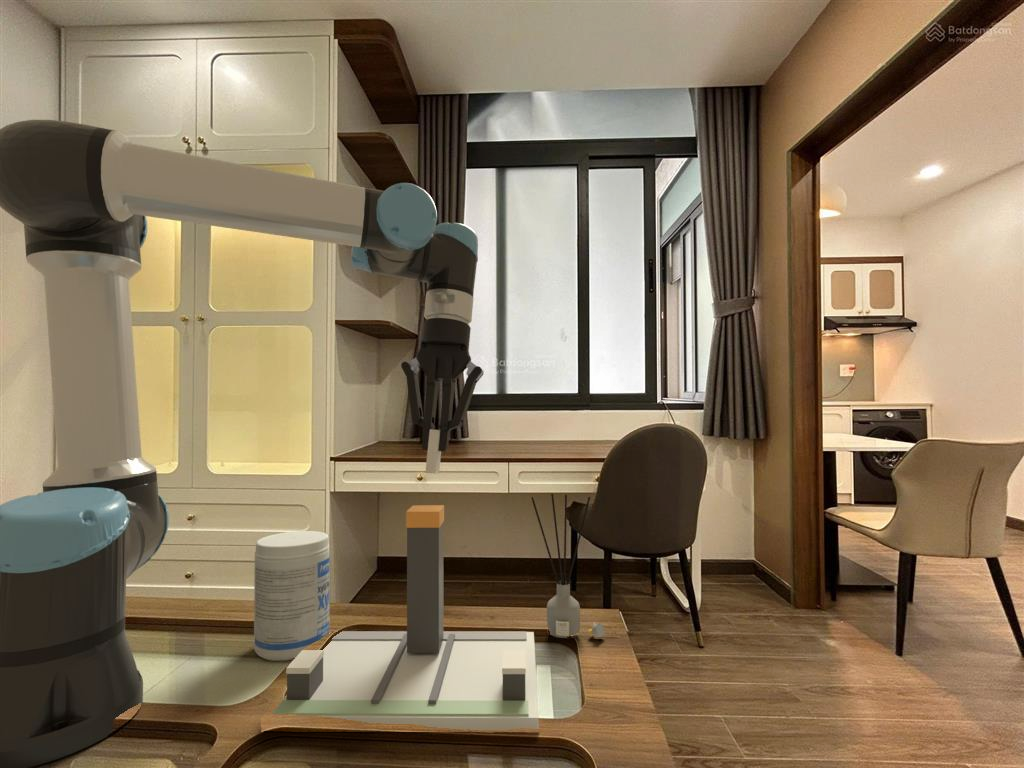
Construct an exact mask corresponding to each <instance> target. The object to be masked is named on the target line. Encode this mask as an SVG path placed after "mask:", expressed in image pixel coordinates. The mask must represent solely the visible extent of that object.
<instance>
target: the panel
mask: <svg viewBox="0 0 1024 768" xmlns="http://www.w3.org/2000/svg"><path fill="white" fill-rule="evenodd" d="M535 646H536V645H535V633H534V631H525V630H523V631H522V630H521V631H515V630H514V631H513V630H512V631H506V630H505V631H504V630H503V631H498V630H497V631H491V630H490V631H489V630H488V631H487V630H486V631H479V630H478V631H477V630H475V631H473V630H472V631H470V630H469V631H466V630H465V631H463V630H459V631H455V630H453V631H451V630H450V631H447V630H446V631H445V630H443V642H442V645H441V648H440V651H439V653H407V630H406V631H405V630H401V631H400V630H399V631H398V630H397V631H396V630H395V631H393V630H391V631H390V630H389V631H388V630H387V631H386V630H385V631H384V630H380V631H379V630H377V631H375V630H373V631H371V630H370V631H369V630H367V631H364V630H360V631H359V630H357V631H355V630H351V631H350V630H344V631H343V630H342V632H340V633H339V634H337V635H336V636H334V637H333V638H332V641H331V642H330V643H329V644H328V645H327V646H326V647H325V648H324V649H323V650H302V651H301V652H300V653H299V654H298V655H297V657H296V658H295V659H292V661H291V662H290V663H289V664H288V665H287V666H286V669H285V670H286V671H285V672H286V673H285V674H286V686H287V695H286V696H285V700H282V701H281V703H280V704H279V705H278V706H277V708H276V709H275V710H274V711H273V713H272V714H296V715H297V714H298V715H308V716H309V715H315V716H316V715H317V716H318V717H319V715H320V716H322V717H330V718H331V717H332V718H337V719H338V718H341V719H346V720H353V721H354V720H355V721H361V722H367V723H374V724H376V723H382V724H385V723H386V724H413V725H414V724H415V725H423V726H427V727H437V728H449V729H464V730H466V729H470V730H503V731H505V730H509V729H518V728H534V729H539V730H540V726H539V725H540V719H539V718H540V717H539V715H540V714H539V701H538V700H539V699H538V683H537V682H538V681H537V667H536V649H535Z"/></svg>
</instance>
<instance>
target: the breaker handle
mask: <svg viewBox="0 0 1024 768" xmlns="http://www.w3.org/2000/svg"><path fill="white" fill-rule="evenodd" d="M405 513H406V514H405V521H406V522H405V528H406V631H407V653H439V651H440V648H441V645H442V642H443V631H444V521H445V505H444V504H443V505H442V504H439V505H437V504H435V505H433V504H432V505H430V504H428V505H426V504H424V505H423V504H422V505H421V504H418V505H417V504H414V505H411V507H409V508H408V509H407V510H406V512H405Z"/></svg>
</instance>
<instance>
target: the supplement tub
mask: <svg viewBox="0 0 1024 768" xmlns="http://www.w3.org/2000/svg"><path fill="white" fill-rule="evenodd" d="M330 572H331V571H330V543H329V535H328V533H325V532H323V531H317V530H298V531H287V532H280V533H275V534H271V535H267V536H264V537H261V538H259V539H258V540H257V541H256V543H255V552H254V582H253V583H254V587H253V588H254V591H253V592H254V594H253V596H254V598H253V599H254V600H253V603H254V608H253V609H254V612H253V613H254V614H253V616H254V618H253V619H254V620H253V621H254V622H253V649H254V652H255V653H256V655H257V656H259V657H260V658H262V659H265V660H268V661H272V662H273V661H275V662H276V661H277V662H281V661H289V660H290V661H291V660H294V659H293V658H294V657H296V656H297V655H298V654H299V653H300V652H301V651H302V650H303V649H304V648H306V647H307V646H309V645H311V644H312V643H314V642H316V641H318V640H320V639H321V638H323V637H324V636H325V635H326V634H327V633H328V631H329V632H330Z"/></svg>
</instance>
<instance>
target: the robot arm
mask: <svg viewBox="0 0 1024 768" xmlns="http://www.w3.org/2000/svg"><path fill="white" fill-rule="evenodd" d="M0 208H1V209H2V210H4V211H5V212H6V213H8V214H9V215H10V216H12V218H14V219H16V220H18V222H20V223H22V224H23V233H24V244H25V245H24V246H25V258H26V263H28V264H29V265H30V266H31V267H33V268H34V269H35V270H36V271H38V272H39V273H40V274H41V275H42V276H43V278H44V279H43V280H44V291H45V292H44V293H45V294H44V295H45V306H46V307H45V308H46V321H47V334H48V335H47V336H48V348H49V362H50V375H51V376H50V377H51V378H50V379H51V388H52V390H51V391H52V404H53V416H54V430H55V431H54V432H55V445H56V458H57V459H56V460H57V467H56V469H55V470H54V472H52V473H51V474H50V475H49V476H48V477H47V478H46V479H45V480H44V481H43V482H42V485H41V486H42V492H39V493H38V494H32V495H25V496H20V497H17V498H14V499H12V500H9V501H6V502H4V503H2V504H0V768H32V767H36V766H39V765H43V764H46V763H50V762H52V761H56V760H59V759H61V758H63V757H67V756H69V755H72V754H74V753H76V752H79V751H82V750H83V749H86V748H88V747H90V746H92V745H94V744H96V743H98V742H100V741H101V740H104V739H106V738H108V737H109V736H110V735H111V734H110V732H111V729H112V727H113V725H114V724H113V723H114V722H113V720H114V719H115V718H116V717H118V716H119V715H120V714H122V713H124V712H125V711H127V710H128V709H130V708H132V707H134V706H136V705H138V704H139V703H142V704H143V701H144V681H143V676H142V675H141V672H140V671H139V669H138V667H137V665H136V662H135V658H134V654H133V651H132V650H131V646H130V643H129V641H128V638H127V636H126V603H127V602H126V601H127V599H126V598H127V597H126V596H127V579H128V578H129V577H130V576H132V574H134V573H135V572H136V571H137V570H138V569H140V568H142V567H143V566H144V565H146V564H147V563H148V562H149V561H150V560H151V559H152V557H154V556H155V554H156V553H157V552H158V551H159V549H160V548H161V546H162V544H163V542H164V540H165V538H166V536H167V533H168V530H169V526H170V525H169V524H170V516H169V515H170V513H169V509H168V505H167V503H166V501H165V499H164V498H163V497H162V495H161V494H160V493H159V485H158V474H157V473H158V472H157V468H156V467H155V466H154V465H152V464H151V463H149V462H148V461H146V459H144V457H143V455H142V445H141V443H142V441H141V430H140V417H139V416H140V415H139V413H140V412H139V403H138V401H139V400H138V389H137V388H138V387H137V375H136V374H137V373H136V364H135V363H136V361H135V349H134V334H133V321H132V320H133V319H132V308H131V294H130V293H131V292H130V280H131V279H132V278H133V277H134V276H136V274H138V273H139V272H140V271H141V270H142V259H141V258H142V257H141V248H143V246H144V243H145V241H146V239H147V235H148V220H147V217H150V218H157V219H163V220H169V221H170V220H171V221H177V222H184V223H191V224H197V225H205V226H210V227H211V226H212V227H218V228H225V229H231V230H232V229H233V230H237V231H238V230H240V231H245V232H246V231H247V232H251V233H252V232H253V233H260V234H267V235H275V236H280V237H287V238H294V239H302V240H307V241H315V242H320V243H321V242H322V243H329V244H335V245H343V246H350V247H351V251H350V264H351V266H352V267H353V268H354V269H358V270H361V271H365V272H368V273H370V274H374V275H375V274H378V275H381V276H383V275H384V276H389V277H394V278H399V279H406V280H412V281H416V282H423V283H426V293H425V300H424V302H425V303H424V314H423V317H424V318H425V320H424V321H423V322H422V331H421V339H420V348H419V349H418V351H417V353H416V357H414V358H413V359H411V360H409V361H408V362H407V361H403V362H402V363H401V366H400V367H401V369H402V371H403V372H404V374H405V376H406V377H405V378H406V383H407V384H406V385H407V391H408V400H409V408H410V415H411V421H412V422H411V423H413V424H415V425H418V426H419V427H421V428H422V437H421V439H422V440H421V449H422V451H426V452H427V453H426V462H425V463H426V464H425V474H435V475H436V474H440V469H441V460H442V459H441V458H442V452H444V453H445V452H448V450H449V443H450V442H449V441H450V433H451V431H453V430H454V429H458V428H461V427H462V426H463V425H464V421H465V418H466V415H467V412H468V409H469V406H470V403H471V400H472V397H473V394H474V392H475V389H476V386H477V383H478V382H479V381H480V379H481V378H482V377H483V375H484V373H485V372H484V370H483V369H482V368H481V366H479V365H476V364H475V363H474V362H472V357H471V355H470V351H469V350H470V341H471V340H470V339H471V329H472V328H471V326H470V325H469V324H470V323H471V322H472V320H473V307H474V291H475V282H476V274H477V273H476V272H477V265H478V261H479V257H478V253H479V251H478V249H479V239H478V235H477V233H476V232H475V230H474V229H473V228H471V227H470V226H467V225H465V224H463V223H459V222H453V223H450V222H441V223H439V224H437V222H438V212H437V207H436V205H435V202H434V200H433V198H432V197H431V195H430V194H429V193H428V192H427V191H426V190H425V189H423V188H422V187H420V186H419V185H416V184H414V183H409V182H400V183H395V184H393V185H390V186H389V187H387V188H386V189H385V190H381V189H377V188H376V189H375V188H368V187H362V186H358V185H352V184H348V183H342V182H337V181H331V180H328V179H327V180H326V179H322V178H321V179H320V178H315V177H311V176H305V175H300V174H293V173H289V172H284V171H279V170H274V169H267V168H262V167H258V166H254V165H253V166H251V165H248V164H240V163H235V162H231V161H225V160H220V159H216V158H209V157H205V156H199V155H194V154H189V153H188V154H187V153H185V152H184V153H183V152H179V151H174V150H169V149H162V148H158V147H154V146H153V147H152V146H146V145H143V144H136V143H133V142H131V140H130V139H129V138H128V137H127V136H126V135H125V134H124V133H122V131H119V130H115V129H109V128H105V127H99V126H94V125H90V124H83V123H78V122H77V123H76V122H71V121H70V122H69V121H64V120H55V119H27V120H22V121H21V120H20V121H16V122H13V123H10V124H6V125H4V126H3V127H2V128H0ZM419 366H420V368H421V370H423V373H424V374H425V376H426V391H425V392H426V394H425V402H424V412H423V405H422V404H423V403H422V397H421V392H420V391H421V390H420V383H419V382H420V381H419V378H418V374H419V371H420V368H419ZM465 370H466V375H467V377H466V379H465V381H464V385H463V388H462V390H461V394H460V397H459V400H458V403H457V405H456V408H455V411H454V414H453V405H454V396H455V387H456V383H457V382H456V381H457V379H458V378H459V377H461V375H462V374H463V373H464V372H465ZM441 381H442V384H443V389H442V399H441V409H440V420H439V425H438V428H439V429H436V426H435V425H436V415H437V405H438V394H439V387H440V382H441ZM452 417H453V418H452ZM109 734H110V735H109ZM108 735H109V736H108Z"/></svg>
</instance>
